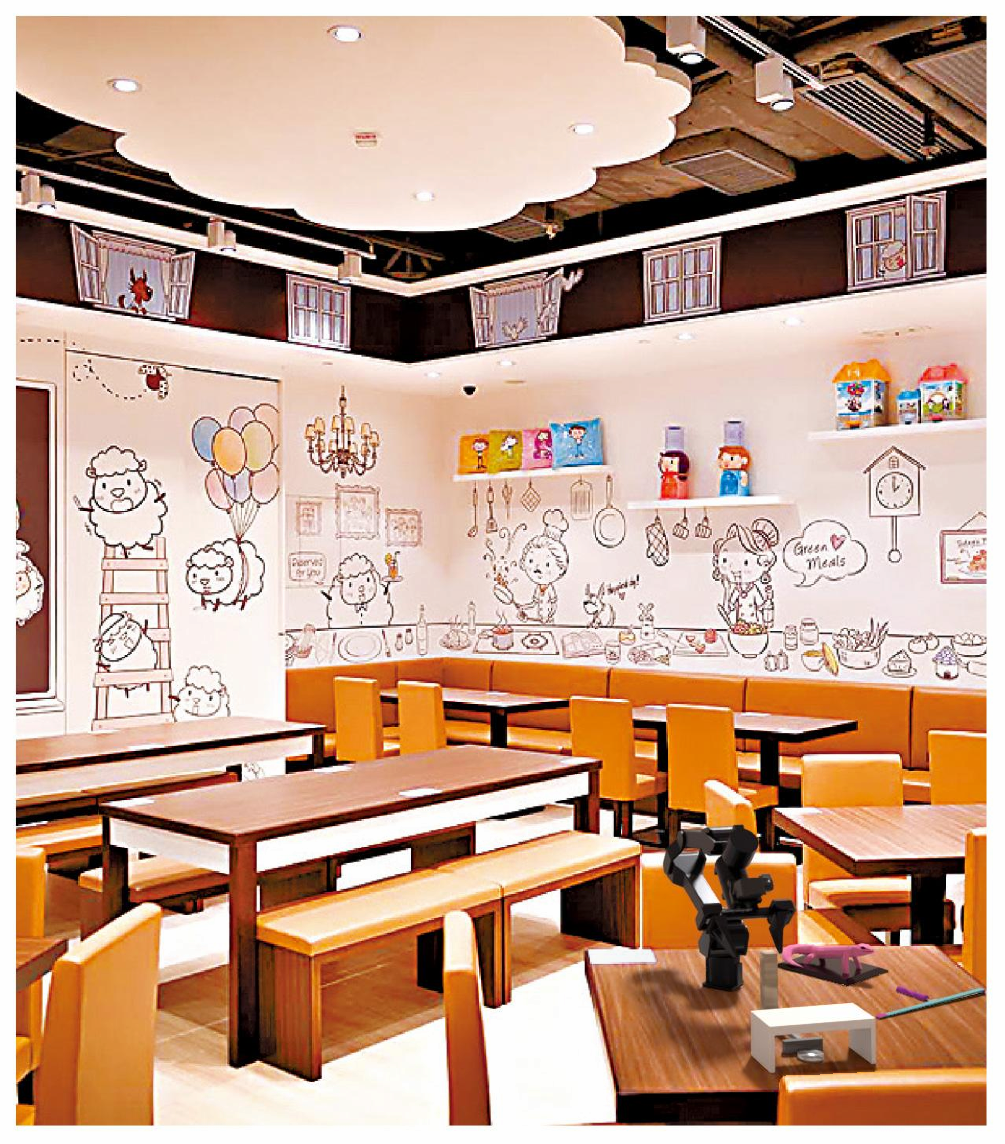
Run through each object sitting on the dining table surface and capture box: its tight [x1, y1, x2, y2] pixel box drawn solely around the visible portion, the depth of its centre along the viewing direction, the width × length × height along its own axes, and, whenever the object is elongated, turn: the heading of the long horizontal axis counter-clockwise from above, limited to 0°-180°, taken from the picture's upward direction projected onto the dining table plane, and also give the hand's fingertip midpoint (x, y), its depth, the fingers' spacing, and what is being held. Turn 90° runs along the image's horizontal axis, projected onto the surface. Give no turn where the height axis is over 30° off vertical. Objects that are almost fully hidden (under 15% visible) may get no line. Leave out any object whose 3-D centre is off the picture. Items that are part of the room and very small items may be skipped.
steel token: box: [796, 1049, 825, 1063], centre depth 206 cm, size 4×4×1 cm
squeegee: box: [875, 985, 986, 1020], centre depth 235 cm, size 29×2×10 cm
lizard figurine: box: [778, 942, 889, 987], centre depth 255 cm, size 15×20×7 cm
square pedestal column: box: [759, 949, 824, 1054], centre depth 216 cm, size 16×7×13 cm, turn 11°
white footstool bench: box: [750, 1002, 877, 1074], centre depth 205 cm, size 8×19×8 cm, turn 101°
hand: (758, 954), depth 227 cm, fingers open, 9 cm apart
